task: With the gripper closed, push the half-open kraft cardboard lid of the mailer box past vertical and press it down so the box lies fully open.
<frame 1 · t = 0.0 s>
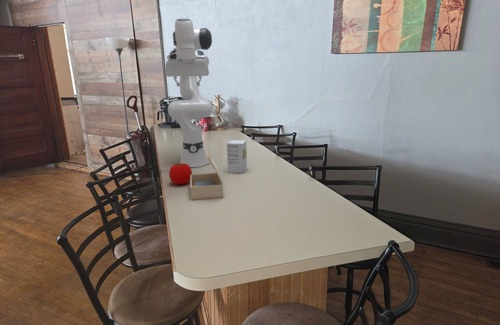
hand: (188, 86, 154), 48 cm above the table, fingers open, 8 cm apart
mailer box: (206, 191, 151), on the table
lid: (214, 164, 149), point 13 cm above the table, hinge at 65.0°
tomato: (181, 183, 164), on the table
supplement box: (237, 171, 182), on the table
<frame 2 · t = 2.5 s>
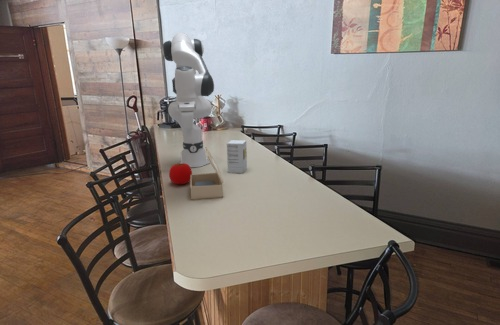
hand: (189, 136, 143), 27 cm above the table, fingers closed
nothing on the table moved.
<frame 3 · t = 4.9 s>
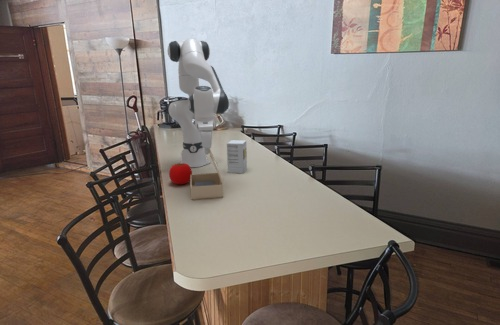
hand: (206, 153, 146), 18 cm above the table, fingers closed, pressing on lid
lid: (215, 163, 149), point 13 cm above the table, hinge at 69.8°, touching gripper
everything else where it was.
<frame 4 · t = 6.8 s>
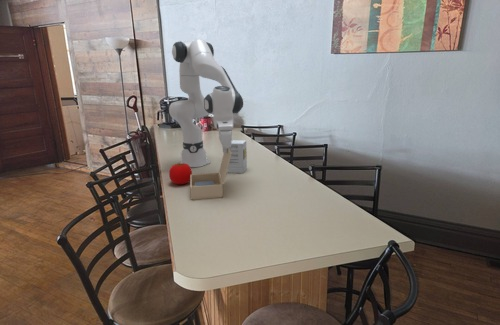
hand: (225, 153, 148), 18 cm above the table, fingers closed, pressing on lid
lid: (225, 163, 149), point 13 cm above the table, hinge at 106.0°, touching gripper
everything else where it was.
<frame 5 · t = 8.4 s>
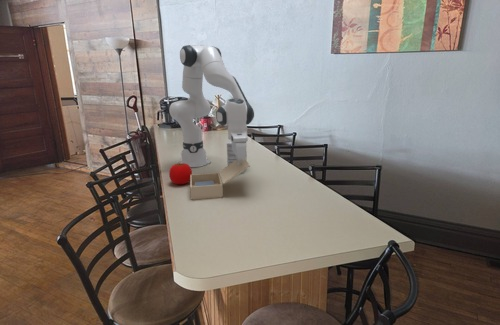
hand: (239, 164, 150), 13 cm above the table, fingers closed, pressing on lid
lid: (234, 169, 151), point 10 cm above the table, hinge at 147.7°, touching gripper
everything else where it was.
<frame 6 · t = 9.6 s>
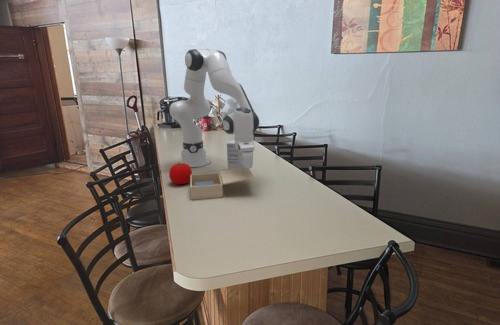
hand: (245, 172, 152), 8 cm above the table, fingers closed, pressing on lid
lid: (236, 174, 152), point 7 cm above the table, hinge at 171.7°, touching gripper
everything else where it was.
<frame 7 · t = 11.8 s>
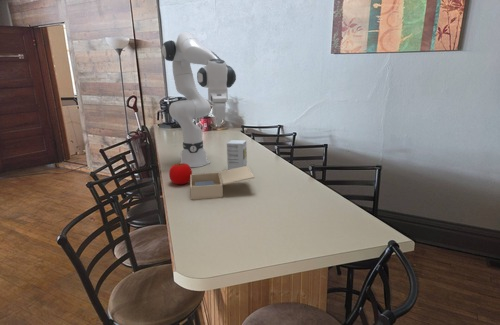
hand: (218, 126, 150), 30 cm above the table, fingers closed
lid: (236, 174, 152), point 7 cm above the table, hinge at 171.8°
everything else where it was.
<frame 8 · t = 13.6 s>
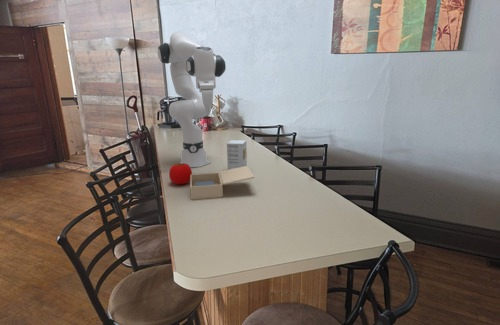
hand: (207, 114, 150), 35 cm above the table, fingers closed
nothing on the table moved.
at the end: lid at +172° (first picture: +65°) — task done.
